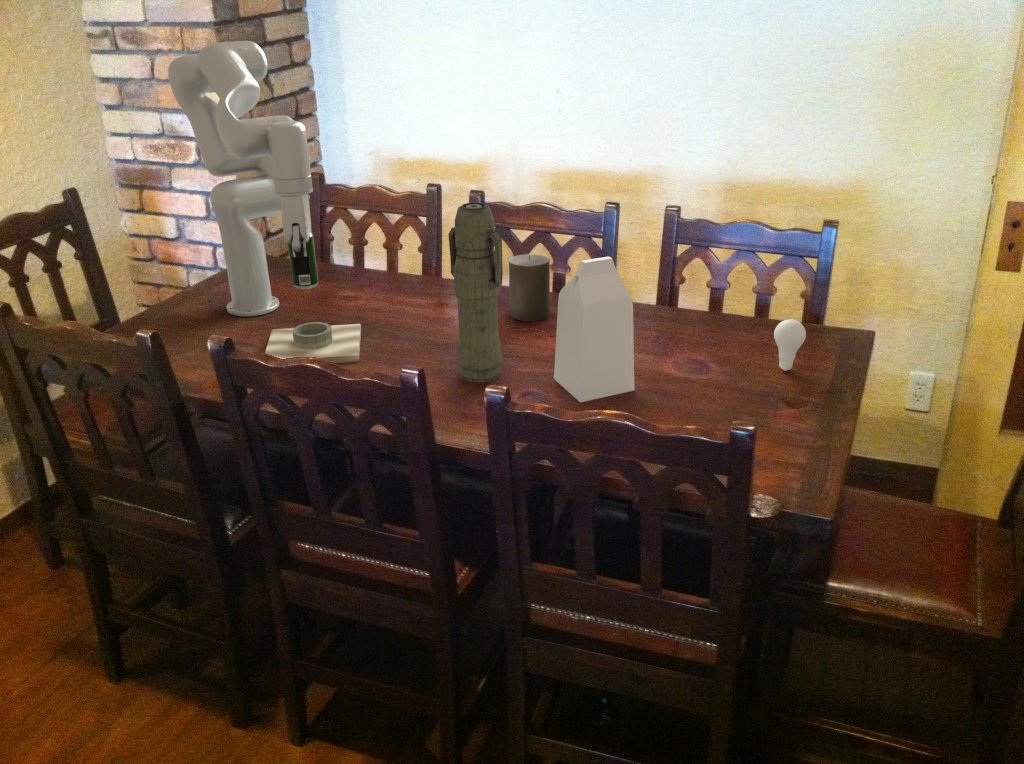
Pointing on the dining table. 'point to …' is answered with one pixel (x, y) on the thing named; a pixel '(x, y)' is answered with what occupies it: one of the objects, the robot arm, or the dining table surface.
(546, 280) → the pillar candle
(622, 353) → the milk
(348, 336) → the carrier plate
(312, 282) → the beer can
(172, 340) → the dining table surface
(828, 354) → the dining table surface
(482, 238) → the thermos
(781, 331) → the lightbulb
